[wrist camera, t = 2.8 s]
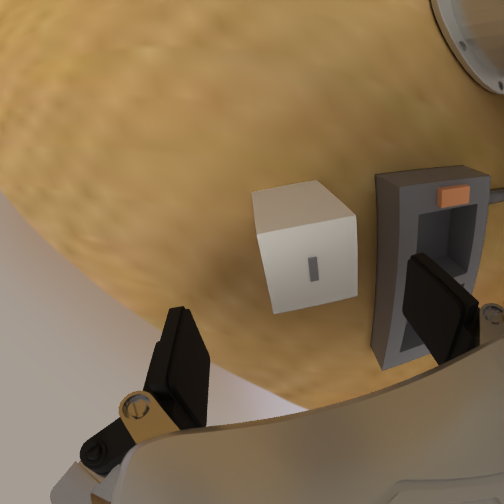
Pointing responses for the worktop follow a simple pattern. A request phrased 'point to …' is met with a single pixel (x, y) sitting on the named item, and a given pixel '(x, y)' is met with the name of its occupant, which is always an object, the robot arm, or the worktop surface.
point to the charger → (306, 245)
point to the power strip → (424, 243)
